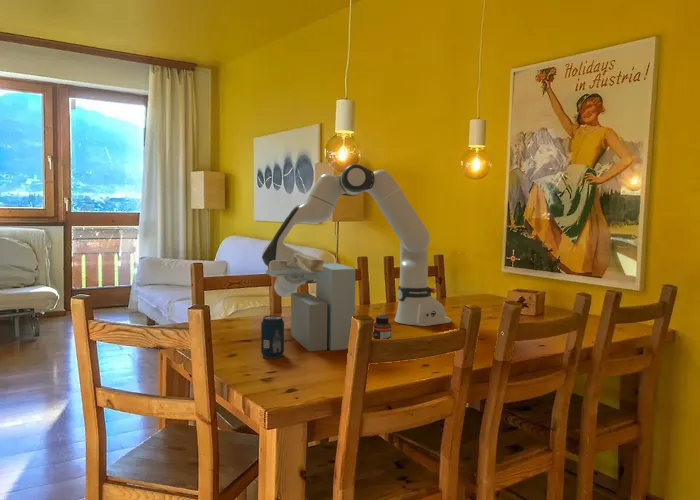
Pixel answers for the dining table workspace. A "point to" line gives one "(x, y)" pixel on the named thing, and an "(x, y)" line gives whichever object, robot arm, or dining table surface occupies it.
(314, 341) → the step
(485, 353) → the dining table surface
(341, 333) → the grey tall block
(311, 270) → the bar
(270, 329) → the soda can
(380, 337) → the supplement bottle
